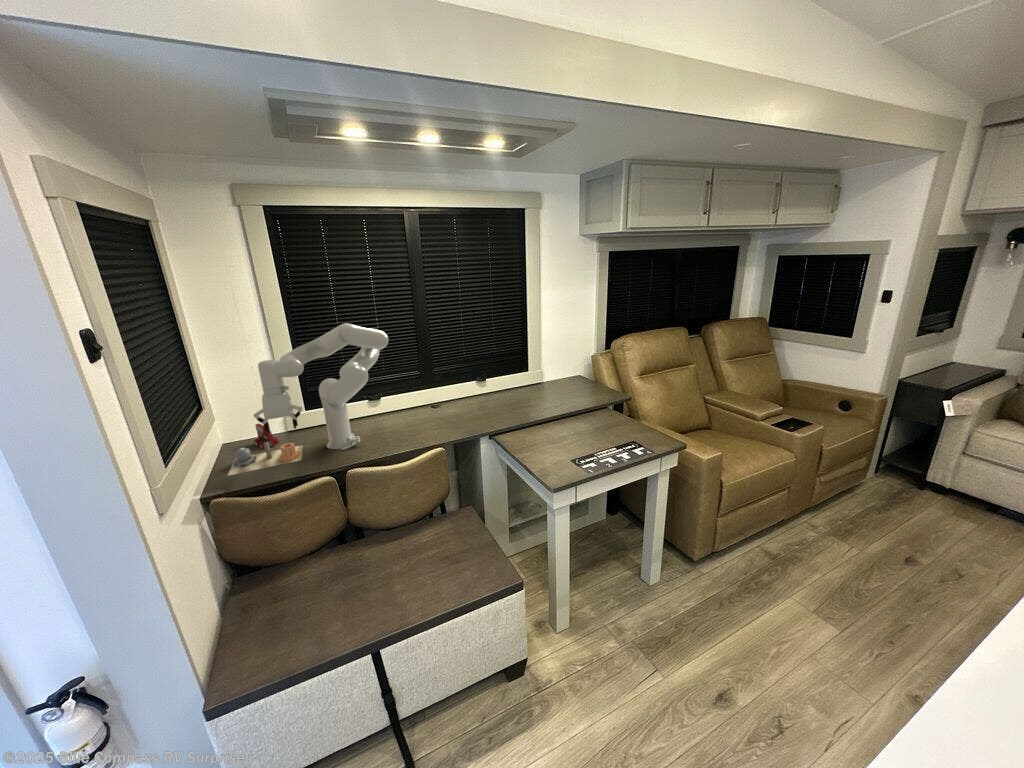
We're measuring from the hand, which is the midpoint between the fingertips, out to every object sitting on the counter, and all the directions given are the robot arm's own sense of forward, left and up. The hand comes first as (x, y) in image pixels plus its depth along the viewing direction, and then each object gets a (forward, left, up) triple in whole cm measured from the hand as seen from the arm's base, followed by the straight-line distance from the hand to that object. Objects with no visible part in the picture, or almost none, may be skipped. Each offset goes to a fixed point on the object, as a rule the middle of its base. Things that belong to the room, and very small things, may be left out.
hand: (282, 429), depth 160 cm
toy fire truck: (+18, -14, -15) cm, 28 cm away
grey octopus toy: (+16, +4, -13) cm, 21 cm away
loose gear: (0, 0, -13) cm, 13 cm away
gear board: (+8, +1, -14) cm, 17 cm away
